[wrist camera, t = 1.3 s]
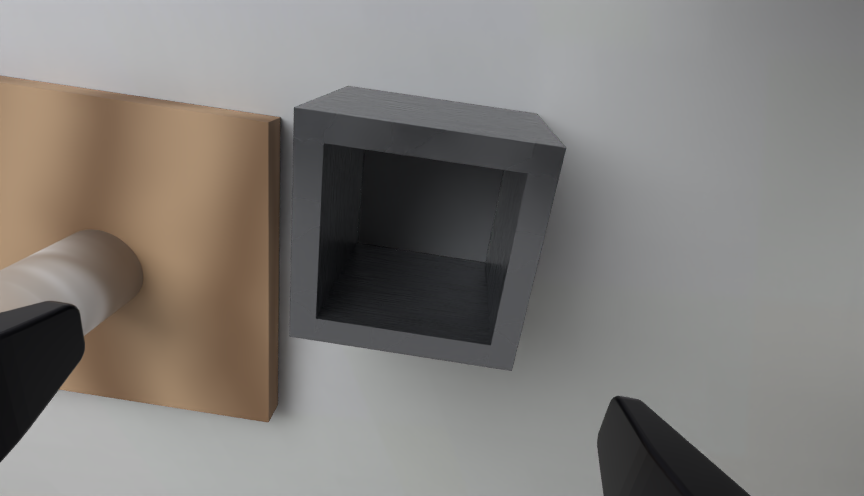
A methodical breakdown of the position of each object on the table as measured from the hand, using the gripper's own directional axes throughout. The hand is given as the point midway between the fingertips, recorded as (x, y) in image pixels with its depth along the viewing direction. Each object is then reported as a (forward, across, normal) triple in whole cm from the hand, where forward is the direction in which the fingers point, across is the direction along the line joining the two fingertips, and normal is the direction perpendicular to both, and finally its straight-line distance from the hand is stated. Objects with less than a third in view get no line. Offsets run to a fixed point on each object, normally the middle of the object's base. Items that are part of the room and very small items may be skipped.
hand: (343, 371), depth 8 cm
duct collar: (+12, -1, 0) cm, 12 cm away
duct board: (+12, +12, +6) cm, 18 cm away
